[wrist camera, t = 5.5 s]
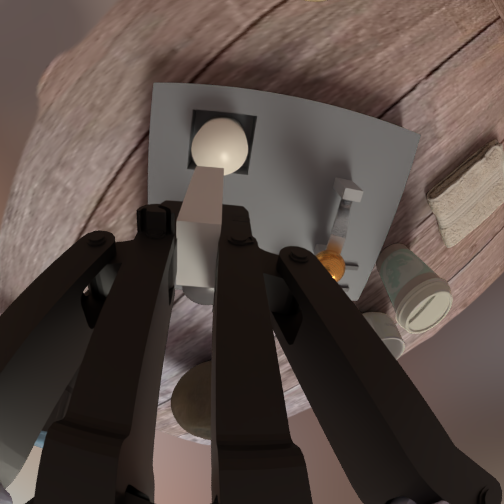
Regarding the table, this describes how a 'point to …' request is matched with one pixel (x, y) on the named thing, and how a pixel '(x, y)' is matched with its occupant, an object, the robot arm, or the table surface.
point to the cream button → (220, 144)
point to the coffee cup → (413, 289)
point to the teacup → (386, 332)
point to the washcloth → (469, 193)
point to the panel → (289, 168)
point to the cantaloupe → (194, 401)
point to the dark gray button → (199, 294)
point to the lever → (336, 242)
